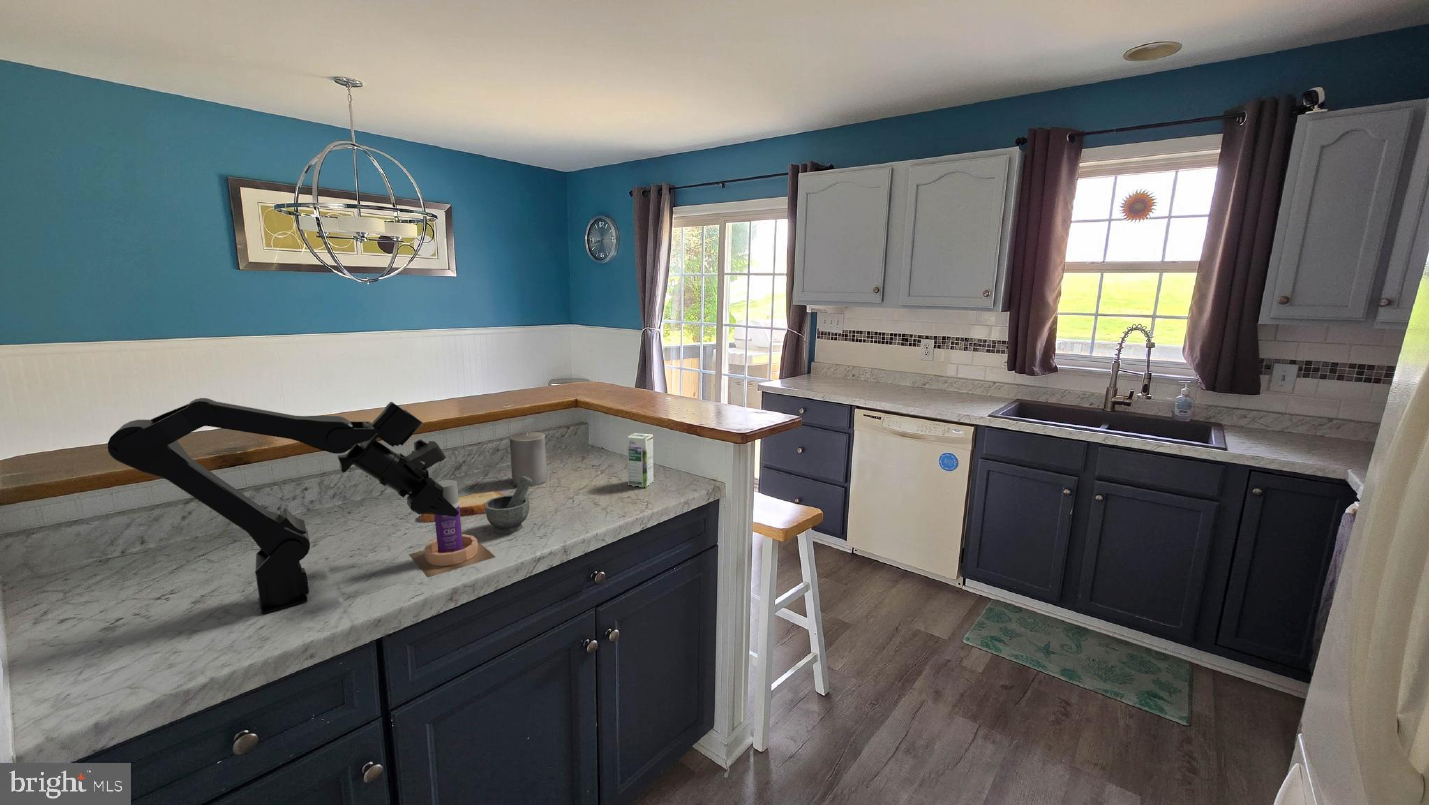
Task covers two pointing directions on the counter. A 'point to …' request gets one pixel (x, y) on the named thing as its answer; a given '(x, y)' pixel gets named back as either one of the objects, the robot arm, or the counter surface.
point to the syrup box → (640, 459)
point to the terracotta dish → (452, 557)
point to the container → (449, 521)
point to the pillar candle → (528, 457)
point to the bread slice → (468, 505)
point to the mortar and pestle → (509, 509)
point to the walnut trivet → (435, 570)
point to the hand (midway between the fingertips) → (451, 507)
